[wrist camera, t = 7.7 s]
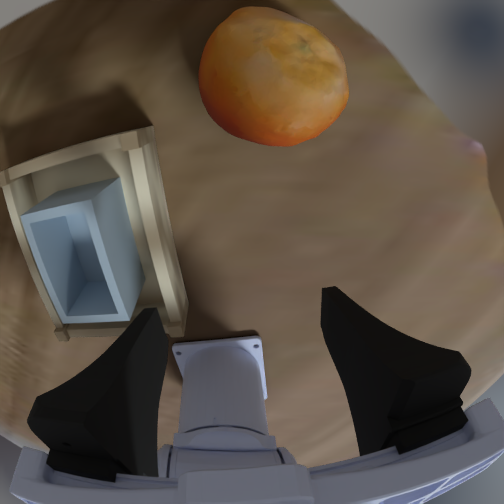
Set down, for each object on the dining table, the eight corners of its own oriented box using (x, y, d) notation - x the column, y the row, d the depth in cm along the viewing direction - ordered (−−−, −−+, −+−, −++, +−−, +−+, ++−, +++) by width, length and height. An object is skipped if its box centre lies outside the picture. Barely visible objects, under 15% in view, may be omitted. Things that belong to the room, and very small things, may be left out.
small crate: (145, 279, 23) (129, 320, 18) (86, 285, 22) (62, 323, 18) (120, 176, 19) (91, 199, 14) (56, 191, 19) (20, 215, 14)
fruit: (150, 103, 16) (183, 26, 9) (230, 39, 18) (288, -28, 11) (244, 189, 19) (325, 165, 12) (307, 114, 21) (387, 77, 14)
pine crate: (188, 303, 25) (184, 336, 21) (75, 312, 24) (59, 341, 21) (153, 125, 18) (136, 130, 15) (24, 161, 18) (-6, 174, 14)
